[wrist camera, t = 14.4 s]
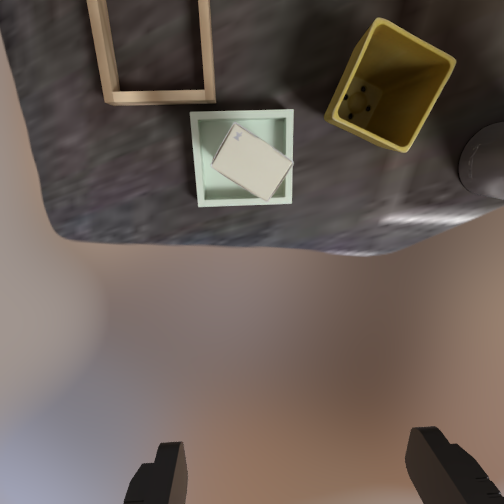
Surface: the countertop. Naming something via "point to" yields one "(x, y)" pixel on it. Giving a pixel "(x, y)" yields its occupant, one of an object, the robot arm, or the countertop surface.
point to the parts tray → (212, 135)
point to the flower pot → (389, 86)
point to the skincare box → (251, 162)
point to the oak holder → (118, 98)
